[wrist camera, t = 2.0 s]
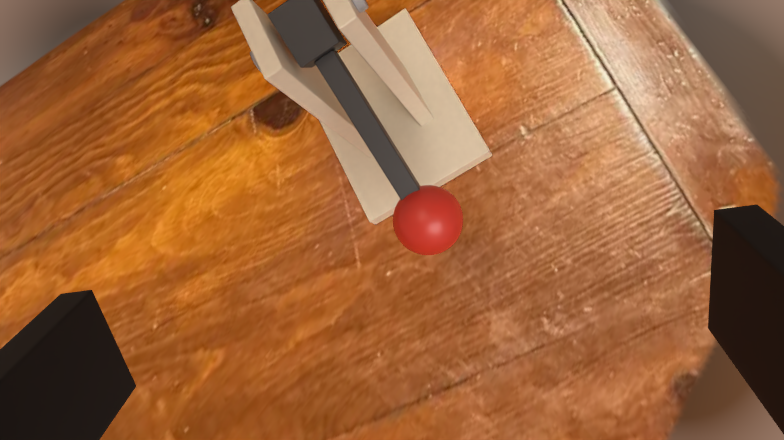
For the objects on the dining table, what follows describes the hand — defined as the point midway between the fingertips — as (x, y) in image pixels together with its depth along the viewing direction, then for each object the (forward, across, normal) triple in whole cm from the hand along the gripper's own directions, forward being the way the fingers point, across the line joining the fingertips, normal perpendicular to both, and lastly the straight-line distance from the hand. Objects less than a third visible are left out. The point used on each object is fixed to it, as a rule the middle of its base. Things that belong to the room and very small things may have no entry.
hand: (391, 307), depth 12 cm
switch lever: (+19, -2, -1) cm, 19 cm away
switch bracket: (+29, -3, -3) cm, 29 cm away
